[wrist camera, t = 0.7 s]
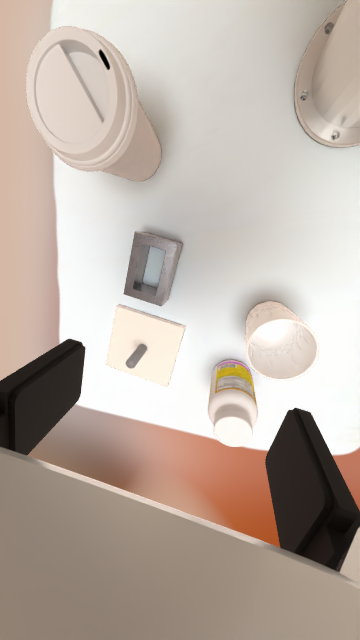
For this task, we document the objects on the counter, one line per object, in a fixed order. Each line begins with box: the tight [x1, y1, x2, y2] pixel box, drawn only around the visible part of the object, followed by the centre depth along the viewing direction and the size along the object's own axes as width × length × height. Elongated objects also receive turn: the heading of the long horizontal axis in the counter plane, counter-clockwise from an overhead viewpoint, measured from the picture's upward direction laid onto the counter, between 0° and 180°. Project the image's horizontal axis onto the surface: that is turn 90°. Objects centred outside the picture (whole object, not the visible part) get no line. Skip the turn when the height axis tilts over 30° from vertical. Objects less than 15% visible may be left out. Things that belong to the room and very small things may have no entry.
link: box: [124, 232, 183, 306], centre depth 35 cm, size 9×6×4 cm, turn 165°
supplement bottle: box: [208, 360, 258, 447], centre depth 35 cm, size 7×7×13 cm
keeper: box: [106, 305, 186, 387], centre depth 39 cm, size 12×12×6 cm
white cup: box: [245, 301, 319, 381], centre depth 32 cm, size 8×8×10 cm
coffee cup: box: [26, 26, 161, 181], centre depth 26 cm, size 10×10×15 cm
